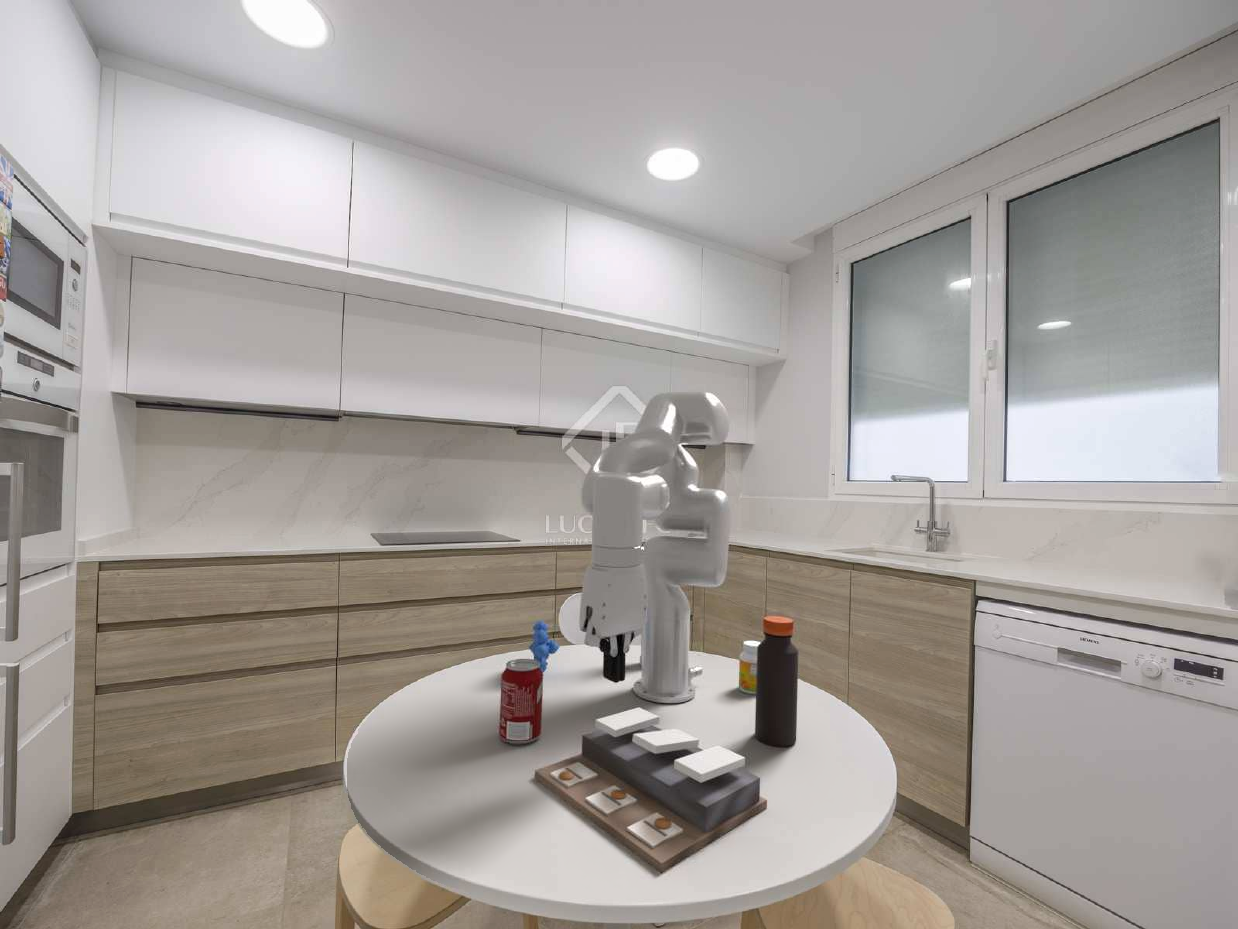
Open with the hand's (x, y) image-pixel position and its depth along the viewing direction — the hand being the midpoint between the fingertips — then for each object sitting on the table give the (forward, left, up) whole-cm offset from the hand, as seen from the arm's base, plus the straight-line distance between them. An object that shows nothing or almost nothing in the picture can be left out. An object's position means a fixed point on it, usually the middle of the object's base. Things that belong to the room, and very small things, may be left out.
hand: (613, 678), depth 85 cm
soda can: (+6, -16, -13) cm, 22 cm away
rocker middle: (-3, +8, -7) cm, 11 cm away
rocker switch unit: (+1, +8, -13) cm, 15 cm away
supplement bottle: (-44, -6, -13) cm, 47 cm away
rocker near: (-3, +16, -7) cm, 18 cm away
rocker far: (-3, 0, -7) cm, 8 cm away
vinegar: (-28, +10, -13) cm, 33 cm away
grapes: (-14, -39, -13) cm, 44 cm away
